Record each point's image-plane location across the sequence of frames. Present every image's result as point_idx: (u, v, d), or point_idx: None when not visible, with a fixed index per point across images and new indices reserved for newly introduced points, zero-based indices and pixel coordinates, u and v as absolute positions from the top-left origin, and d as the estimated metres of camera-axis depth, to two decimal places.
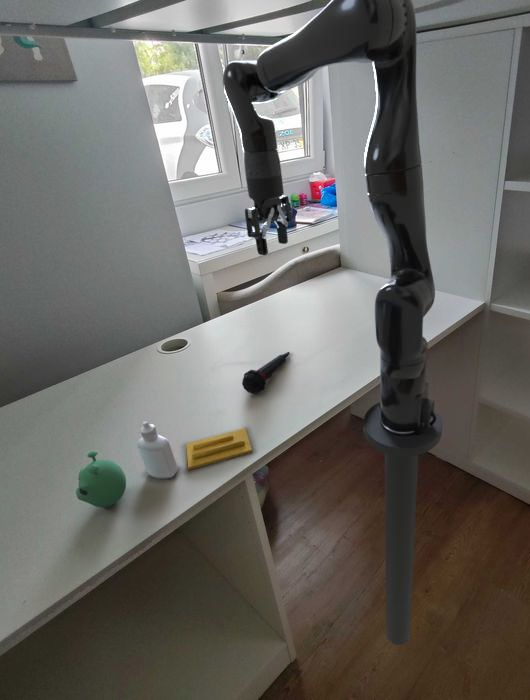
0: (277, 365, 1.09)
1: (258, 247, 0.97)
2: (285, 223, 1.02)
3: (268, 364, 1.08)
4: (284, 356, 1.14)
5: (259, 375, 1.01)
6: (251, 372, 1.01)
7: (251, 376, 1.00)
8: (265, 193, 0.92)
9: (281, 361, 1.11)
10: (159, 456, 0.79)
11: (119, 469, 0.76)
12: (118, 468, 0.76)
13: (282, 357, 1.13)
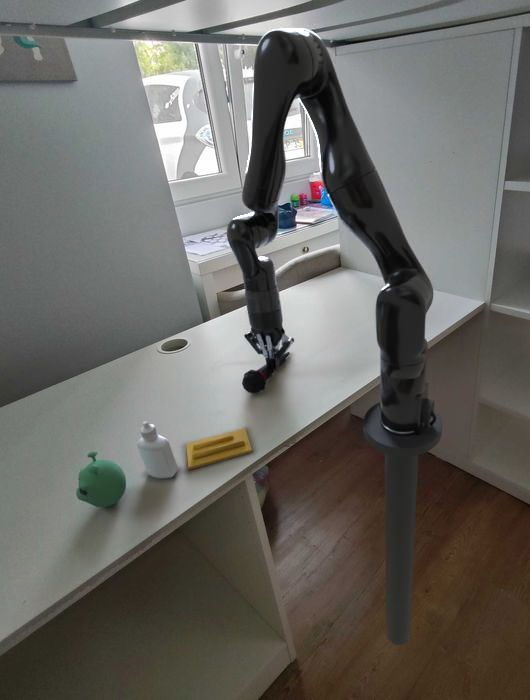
0: None
1: None
2: (270, 355, 1.04)
3: None
4: (284, 356, 1.14)
5: (259, 375, 1.01)
6: (251, 372, 1.01)
7: (251, 376, 1.00)
8: None
9: (281, 361, 1.11)
10: (159, 456, 0.79)
11: (119, 469, 0.76)
12: (118, 468, 0.76)
13: (282, 357, 1.13)
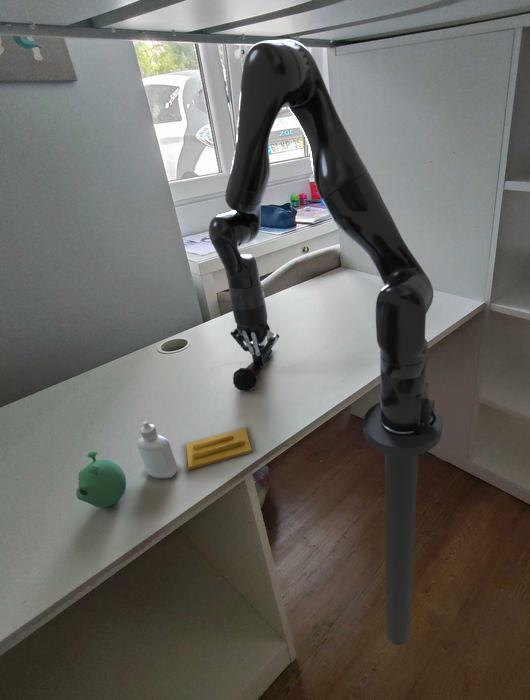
0: None
1: None
2: (256, 351, 1.06)
3: None
4: (268, 353, 1.15)
5: (250, 372, 1.02)
6: (241, 370, 1.02)
7: (243, 374, 1.01)
8: (234, 317, 1.02)
9: (266, 358, 1.13)
10: (159, 456, 0.79)
11: (119, 469, 0.76)
12: (118, 468, 0.76)
13: (267, 354, 1.14)
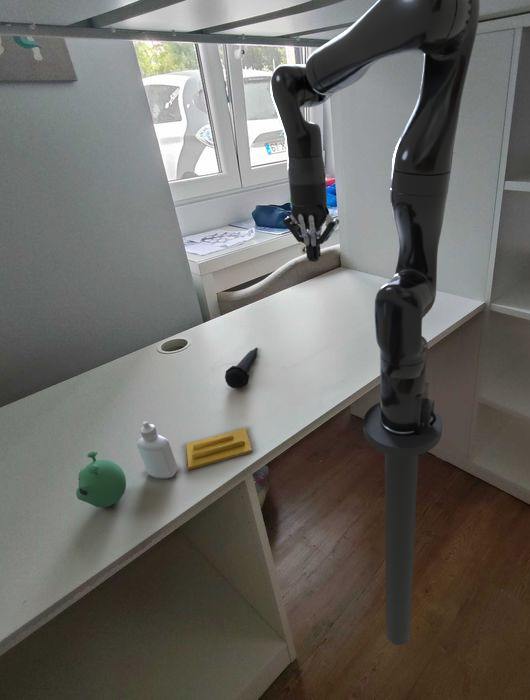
0: (252, 360, 1.12)
1: None
2: (312, 241, 0.96)
3: (244, 360, 1.10)
4: (255, 351, 1.17)
5: (242, 370, 1.03)
6: (234, 368, 1.03)
7: (235, 372, 1.02)
8: None
9: (254, 356, 1.14)
10: (159, 456, 0.79)
11: (119, 469, 0.76)
12: (118, 468, 0.76)
13: (254, 352, 1.16)
